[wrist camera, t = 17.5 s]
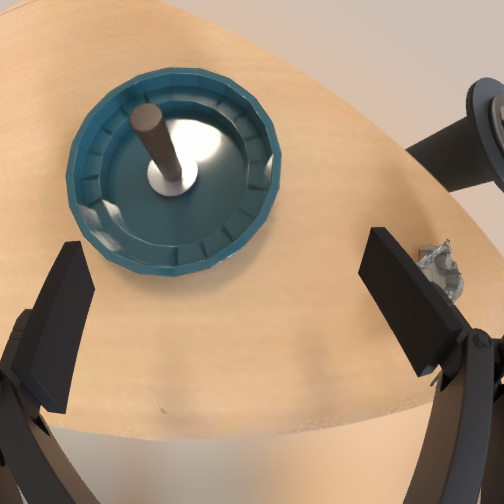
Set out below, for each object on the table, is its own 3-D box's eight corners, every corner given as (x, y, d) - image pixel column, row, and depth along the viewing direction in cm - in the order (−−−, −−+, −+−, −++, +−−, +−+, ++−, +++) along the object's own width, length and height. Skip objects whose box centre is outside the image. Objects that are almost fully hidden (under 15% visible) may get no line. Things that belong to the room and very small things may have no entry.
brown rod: (208, 171, 31) (205, 110, 17) (175, 209, 30) (144, 172, 16) (173, 142, 30) (148, 69, 16) (140, 178, 30) (91, 125, 16)
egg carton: (429, 236, 34) (450, 234, 30) (452, 284, 35) (473, 286, 31) (371, 289, 33) (390, 292, 29) (399, 338, 34) (418, 346, 30)
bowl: (307, 169, 33) (324, 153, 27) (184, 312, 31) (178, 323, 25) (175, 66, 31) (170, 38, 26) (57, 191, 29) (32, 181, 24)
